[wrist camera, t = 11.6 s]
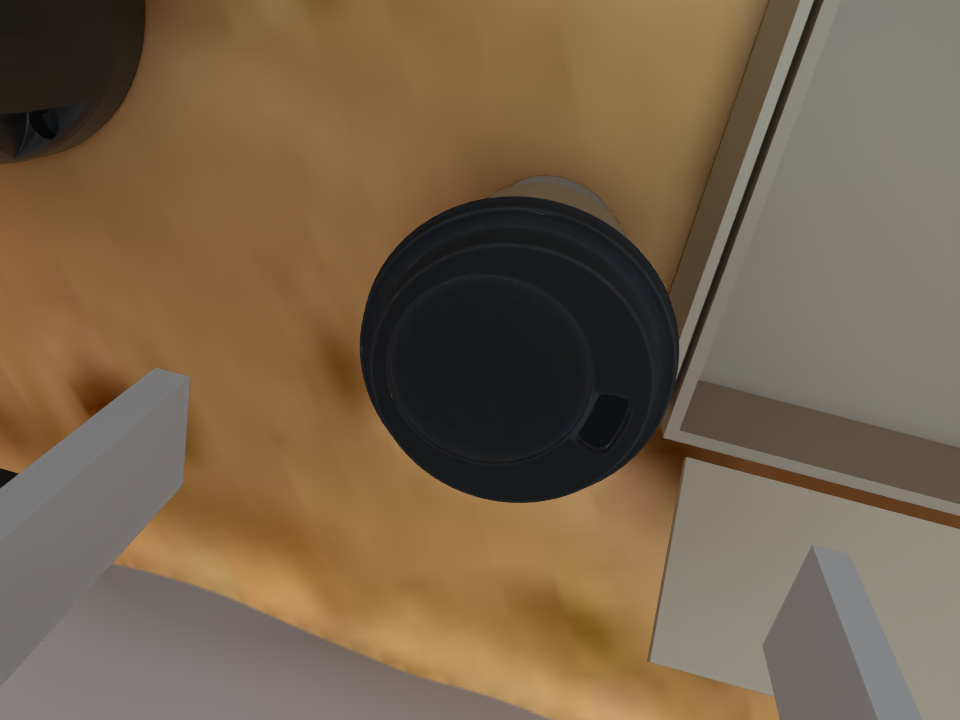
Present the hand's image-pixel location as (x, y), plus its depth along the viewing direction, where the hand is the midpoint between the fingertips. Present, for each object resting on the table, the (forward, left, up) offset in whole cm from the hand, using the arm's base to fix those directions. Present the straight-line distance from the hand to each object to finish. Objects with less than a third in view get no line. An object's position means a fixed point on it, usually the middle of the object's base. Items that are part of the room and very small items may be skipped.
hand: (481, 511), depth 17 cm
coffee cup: (0, 0, -21) cm, 21 cm away
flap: (+16, -8, -12) cm, 22 cm away
